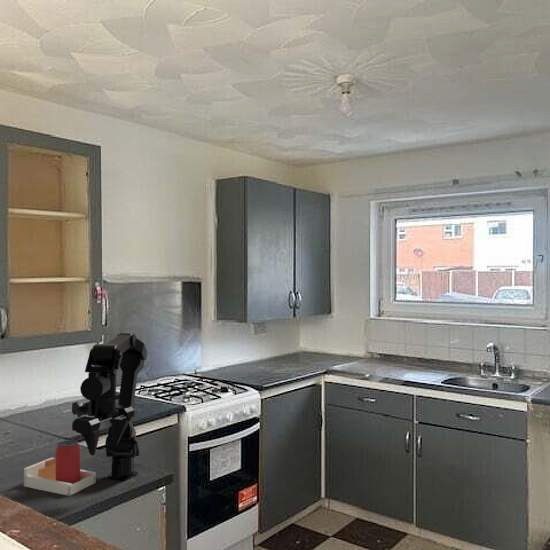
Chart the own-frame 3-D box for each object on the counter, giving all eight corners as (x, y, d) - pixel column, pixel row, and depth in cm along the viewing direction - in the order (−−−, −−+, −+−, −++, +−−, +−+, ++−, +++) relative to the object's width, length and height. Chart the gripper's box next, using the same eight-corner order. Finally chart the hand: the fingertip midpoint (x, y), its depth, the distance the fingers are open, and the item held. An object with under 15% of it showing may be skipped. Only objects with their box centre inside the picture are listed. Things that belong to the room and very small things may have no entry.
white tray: (51, 474, 168) (52, 457, 168) (95, 482, 162) (96, 465, 162) (23, 486, 158) (24, 468, 158) (69, 495, 152) (69, 477, 152)
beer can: (84, 481, 162) (83, 439, 162) (74, 490, 156) (73, 446, 156) (62, 481, 163) (61, 439, 163) (51, 489, 156) (50, 446, 156)
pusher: (58, 477, 165) (59, 455, 165) (61, 478, 165) (61, 455, 165) (38, 486, 158) (38, 463, 158) (40, 487, 158) (41, 464, 158)
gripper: (103, 382, 162) (102, 437, 162) (55, 395, 145) (54, 456, 145) (135, 386, 158) (135, 442, 158) (90, 400, 141) (89, 462, 141)
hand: (104, 450), depth 151 cm, fingers open, 9 cm apart
